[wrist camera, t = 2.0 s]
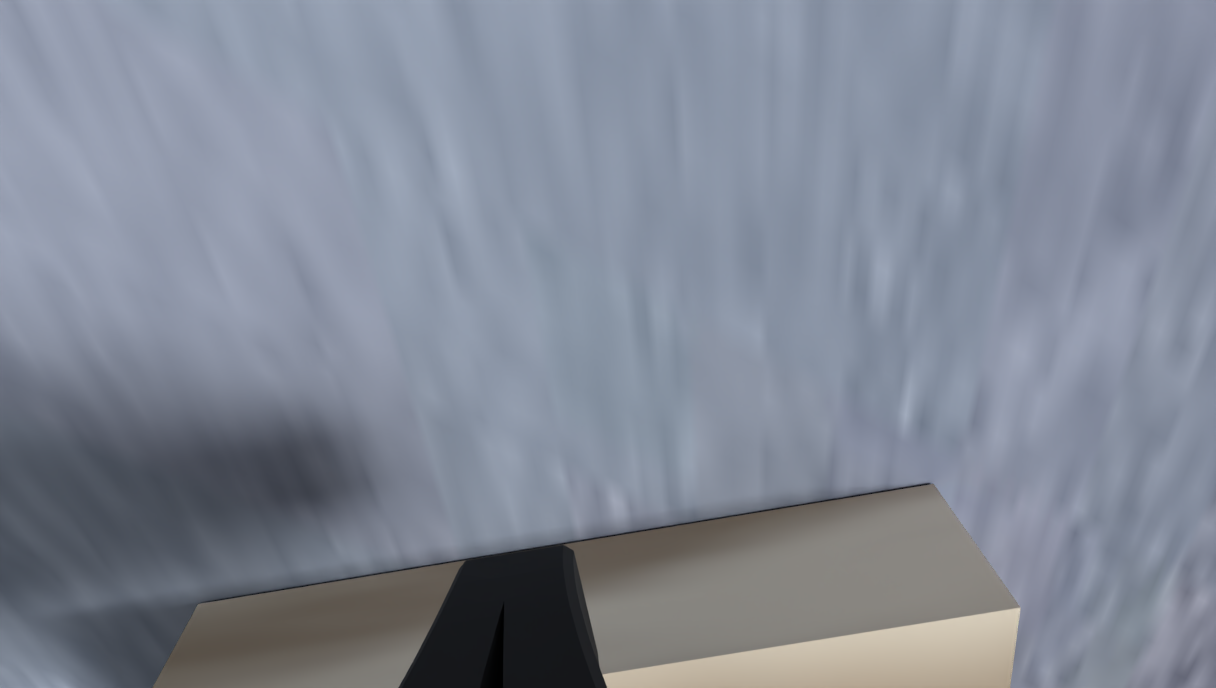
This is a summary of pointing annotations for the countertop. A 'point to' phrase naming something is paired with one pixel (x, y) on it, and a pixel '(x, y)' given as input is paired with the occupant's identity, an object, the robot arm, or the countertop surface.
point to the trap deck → (673, 609)
